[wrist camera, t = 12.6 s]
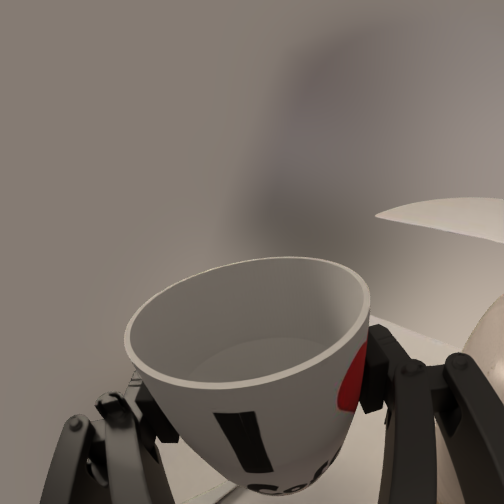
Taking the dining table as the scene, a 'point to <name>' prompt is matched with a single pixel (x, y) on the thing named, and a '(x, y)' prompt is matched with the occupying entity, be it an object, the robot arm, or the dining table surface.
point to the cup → (258, 365)
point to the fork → (213, 494)
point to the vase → (498, 374)
